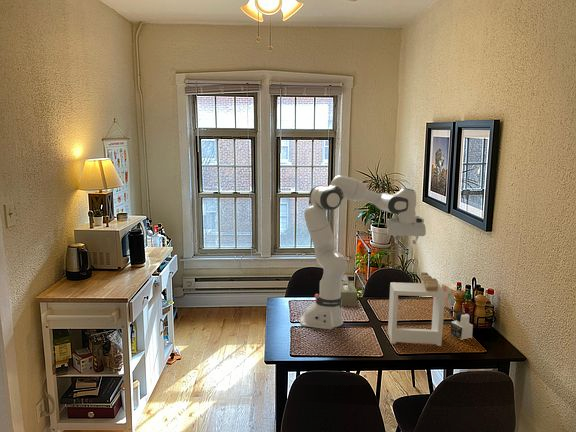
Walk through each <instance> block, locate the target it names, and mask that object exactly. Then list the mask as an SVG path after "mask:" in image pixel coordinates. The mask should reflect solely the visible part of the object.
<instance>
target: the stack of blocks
mask: <svg viewBox="0 0 576 432" xmlns="http://www.w3.org/2000/svg"><path fill="white" fill-rule="evenodd" d="M438 284H439V285H440V286H441V288H442V289H443V291H444V292H445V303H444V307H445V308H447V309H449V310H450V309H452V307H453V304H454V293H455V292H456V290H457V286H458V285H456V284H454V283H451V282H447V283H442V282H438ZM462 291H464V292H465V291H466V290H465V289H463V288H462ZM433 298H434V297H431V299H433Z"/></svg>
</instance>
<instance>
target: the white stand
mask: <svg viewBox="0 0 576 432" xmlns="http://www.w3.org/2000/svg"><path fill="white" fill-rule="evenodd" d="M399 296H407V297H408V296H409V297H430V298H432V297H434V298H433V300H432V301H433V302H432V315H431V329H426V328H424V329H423V328H422V329H421V328H405V327H404V328H402V327H400V328H399V327H398V326H397V324H398V323H397V322H398V304H399ZM388 302H389V303H388V305H389V306H388V323H387V334H388V338H389V340H390V344H391V345H396V344H397V343H411V344H413V343H415V344H434V345H436V346H437V347H442V342H443V341H442V340H443V330H444V329H443V328H444V316H445V315H444V313H445V306H444V303H445V292H444V291H443V289H442V288H441V286H440V285H439V284H438V291H426V289H425V288H424V284H423V282H422V283H421V282H420V283H419V282H395V281H393V282H390V284H389V301H388ZM397 327H398V328H397Z"/></svg>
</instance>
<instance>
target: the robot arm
mask: <svg viewBox="0 0 576 432" xmlns="http://www.w3.org/2000/svg"><path fill="white" fill-rule="evenodd" d="M416 193H417V192H416V190H414V189H411V188H406V187H403V188H401V189H400V190H399V191H397V192H395V193H393V194H390V193H388V192H385V191H383V192H375V191H373V190H370V189H368V186H367V184H365V182H363V181H360V180H358V179H356V178H354V177H350V176H346V175H336V176H335V177H334V178H333V179H332V180H331V182H330V185H328V186H327V185H322V184H321V185H319V184H318V185H315V186H314V187H312V188H311V190H310V191H309V195H308V196H309V197H308V199H309V200H308V205H309V206H308V207H306V209H305V210H304V214H303V215H304V220H305V224H306V227H307V232H308V233H309V235H310V238H311V242H312V245H313V251H314V254H315V255H314V257H315V260H316V263H317V264H318V265H319V266H320V267H321V268H322V269H323V273H322V278H321V280H319V293H315V294H314V298H315V302H314V303H312V304H310V305H309V306H307V308H306V309H305V310H304V314H302V315H301V317H300V318H299V323H300V325H301V326H303V327H309V328H315V329H322V330H333V329H335V328H338V327H340V326H342V325H343V324H344V320H343V314H342V306H343V305H342V297H341V282H343V280H342V278H343V276H344V275H345V273H346V272H347V269H348V268H349V263H348V260H347V258H346V257H345V256H344V255H343V254H342V253H340V252H339V251H338V250H337V249H336V247H335V242H334V240H335V236H334V233H333V231H332V227H331V224H330V221H329V220H328V216H327V211H333V210H336V209H337V208H339V207H340V206H341V203H342V201H343V200H344V199H346V201H347V200H348V201H351V202H355V203H361V202H366V203H370V204H371V205H373V206H375V208H376V209H377V210H379V211H382V212H387V213H390V214H398V217H397V218H396V217H390V218H388V219H387V220H386V226H387V228H386V234H387V236H393V239H394V243H395V244H399V239H397V236H402V237H404V236H405V237H406V236H407V237H415V239H414V240H412V244H413V245H417V241H418V239H419V237H425V236H426V234H427V233H426V231H427V230H426V224H425V219H424V218H423V217H421V216H419V215H416V207H417V194H416Z"/></svg>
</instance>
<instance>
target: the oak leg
mask: <svg viewBox="0 0 576 432" xmlns="http://www.w3.org/2000/svg"><path fill="white" fill-rule="evenodd" d="M420 279H421V281H422V283H423V284H424V288H425V289H426V291H438V283H439V281H438V280H437V278H433V277H432V275H429V272H420Z"/></svg>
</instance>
